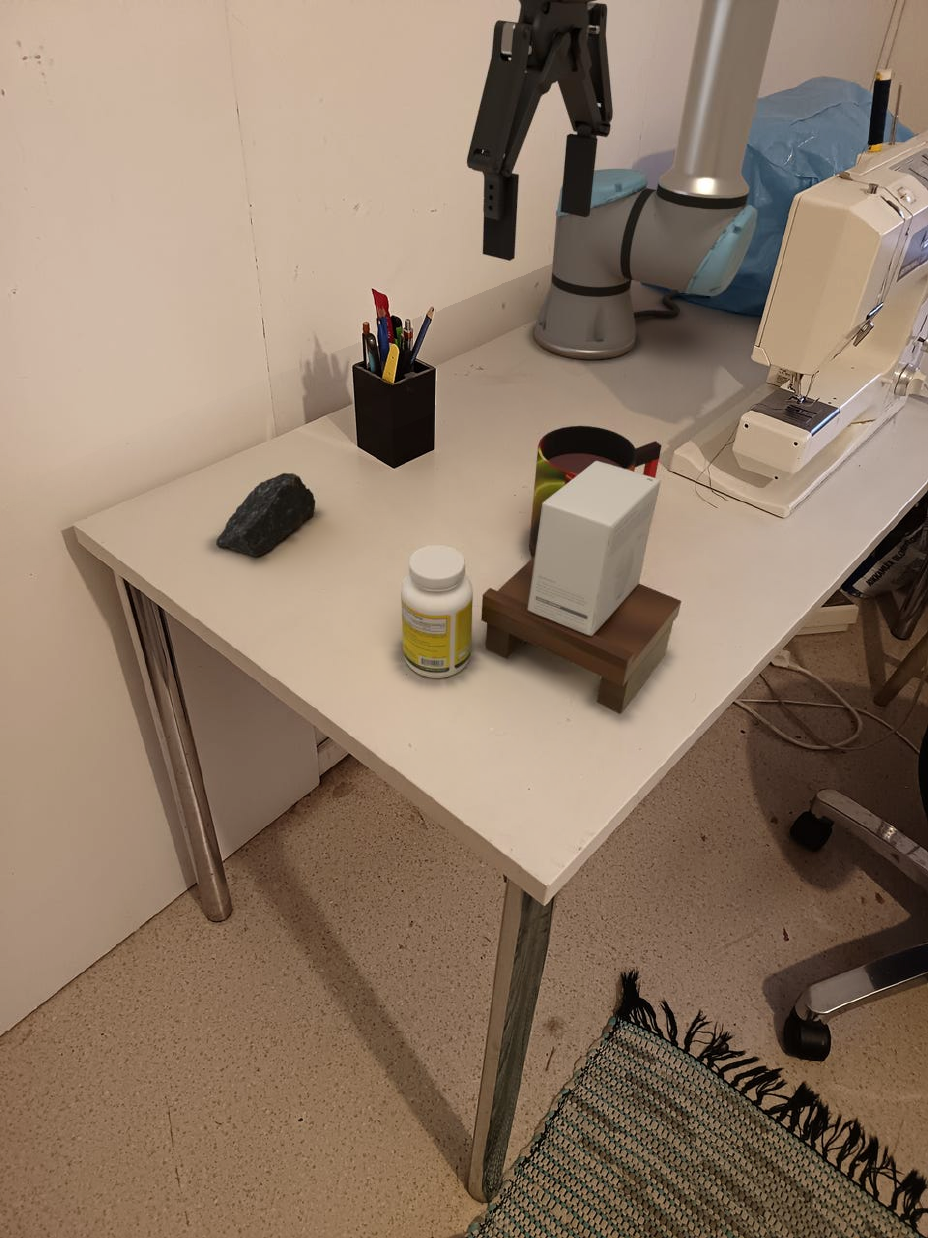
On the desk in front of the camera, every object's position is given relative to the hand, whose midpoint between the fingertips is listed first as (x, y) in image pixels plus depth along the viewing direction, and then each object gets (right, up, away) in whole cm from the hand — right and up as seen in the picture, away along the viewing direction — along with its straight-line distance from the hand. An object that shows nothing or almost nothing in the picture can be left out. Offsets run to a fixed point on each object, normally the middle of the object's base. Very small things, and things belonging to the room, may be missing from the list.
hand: (538, 234), depth 78 cm
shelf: (+4, -37, +3) cm, 38 cm away
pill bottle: (-9, -38, +2) cm, 39 cm away
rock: (-28, -25, +16) cm, 41 cm away
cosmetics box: (+4, -33, -1) cm, 33 cm away
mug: (+6, -26, +16) cm, 31 cm away
